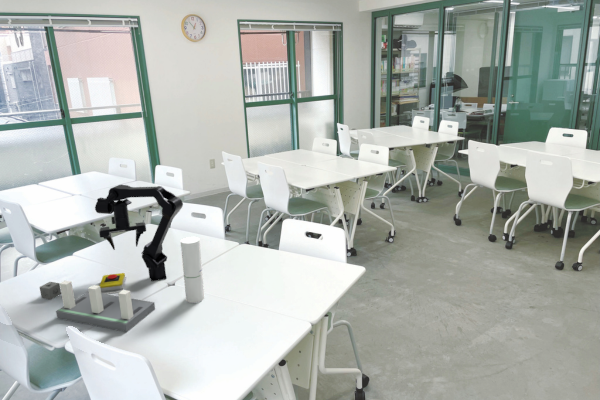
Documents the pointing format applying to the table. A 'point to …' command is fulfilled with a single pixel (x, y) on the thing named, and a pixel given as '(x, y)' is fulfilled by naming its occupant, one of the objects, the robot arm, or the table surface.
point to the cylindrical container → (192, 269)
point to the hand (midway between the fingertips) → (125, 247)
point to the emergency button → (112, 283)
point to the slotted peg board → (116, 311)
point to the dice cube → (50, 290)
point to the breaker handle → (96, 299)
